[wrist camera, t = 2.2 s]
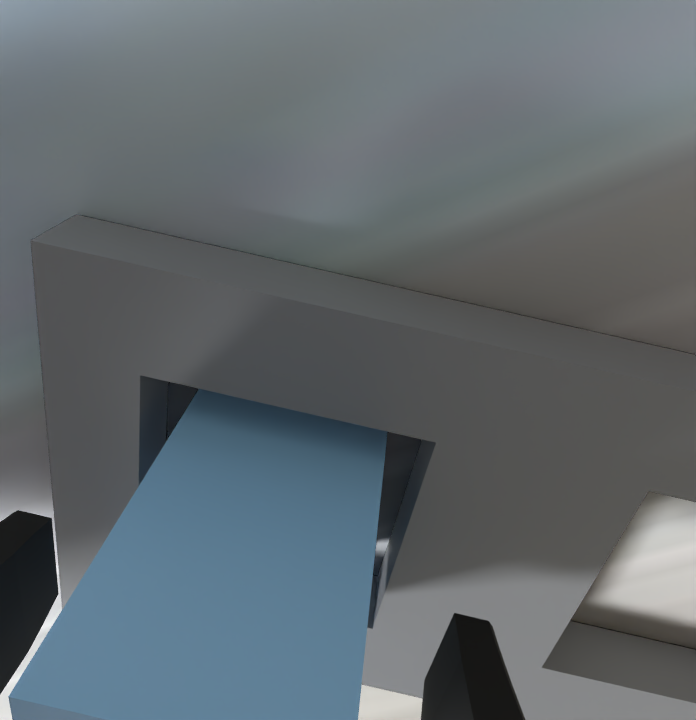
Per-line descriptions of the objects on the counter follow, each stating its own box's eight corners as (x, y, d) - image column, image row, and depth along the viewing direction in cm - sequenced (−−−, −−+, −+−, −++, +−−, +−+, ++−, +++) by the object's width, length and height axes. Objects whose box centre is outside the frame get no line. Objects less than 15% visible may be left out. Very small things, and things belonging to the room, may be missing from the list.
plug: (352, 546, 15) (299, 909, 9) (195, 510, 15) (35, 847, 9) (389, 418, 13) (351, 776, 7) (206, 376, 13) (8, 697, 7)
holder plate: (775, 725, 16) (805, 786, 15) (91, 567, 16) (63, 615, 15) (1070, 439, 11) (1154, 495, 10) (76, 214, 11) (30, 240, 10)
